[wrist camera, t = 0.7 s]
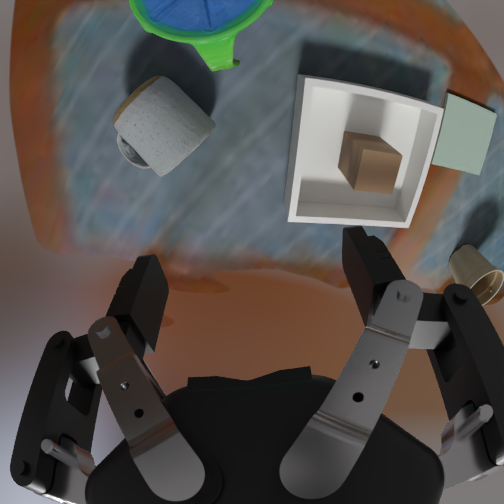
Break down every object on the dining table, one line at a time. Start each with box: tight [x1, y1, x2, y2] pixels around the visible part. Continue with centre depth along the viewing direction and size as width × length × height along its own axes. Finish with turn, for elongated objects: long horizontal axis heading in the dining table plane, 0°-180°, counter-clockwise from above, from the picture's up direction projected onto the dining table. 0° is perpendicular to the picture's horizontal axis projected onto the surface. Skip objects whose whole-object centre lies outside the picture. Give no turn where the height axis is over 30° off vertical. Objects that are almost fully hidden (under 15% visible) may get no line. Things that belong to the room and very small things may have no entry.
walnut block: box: [338, 131, 403, 194], centre depth 29 cm, size 4×4×6 cm
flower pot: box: [449, 244, 504, 306], centre depth 40 cm, size 9×9×9 cm
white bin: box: [284, 74, 444, 228], centre depth 30 cm, size 16×16×4 cm
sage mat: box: [430, 93, 497, 175], centre depth 30 cm, size 10×10×1 cm
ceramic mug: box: [113, 75, 216, 177], centre depth 27 cm, size 11×8×8 cm
